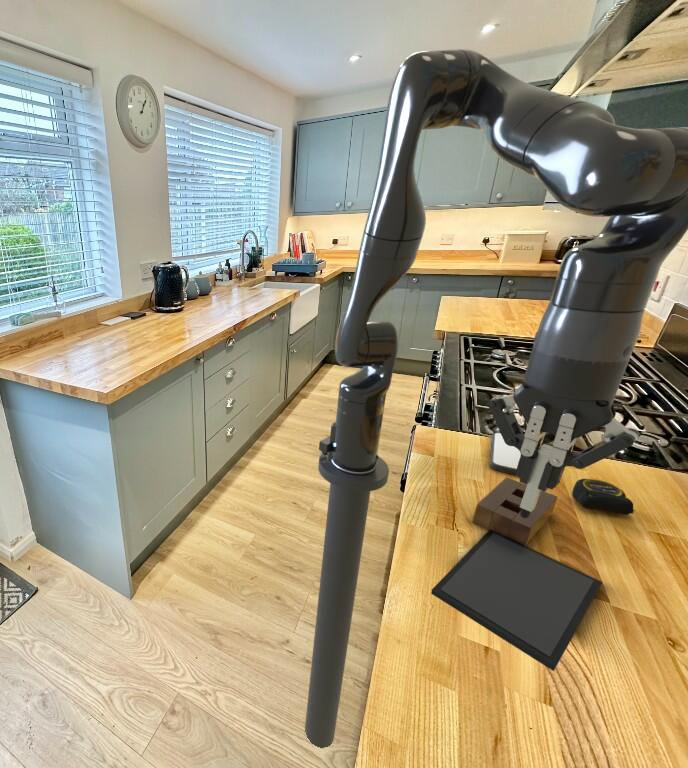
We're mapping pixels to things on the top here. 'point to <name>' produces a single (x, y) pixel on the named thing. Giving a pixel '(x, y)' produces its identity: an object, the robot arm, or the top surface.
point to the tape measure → (601, 497)
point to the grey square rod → (535, 481)
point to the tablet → (519, 595)
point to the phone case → (503, 455)
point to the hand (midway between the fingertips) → (534, 483)
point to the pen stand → (513, 511)
